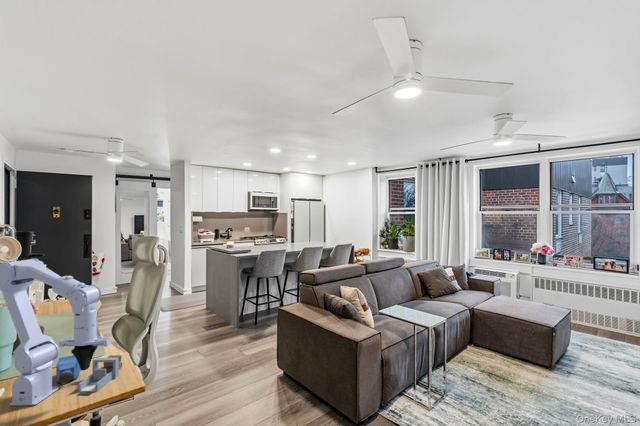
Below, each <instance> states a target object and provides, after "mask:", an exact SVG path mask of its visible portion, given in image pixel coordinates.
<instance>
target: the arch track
mask: <svg viewBox="0 0 640 426" xmlns="http://www.w3.org/2000/svg"><path fill="white" fill-rule="evenodd" d="M104 362H113V370H112V371H111V372H110V373H108V374H107V375H106V376H105V377H103V378H102V379H101V380H99V381H94V382H93V370H94V369H103V366H101V367H99V363H104ZM120 371H121V369H119V358H107V357H95V358H94V359H93V358H92V372H91V374H90V375H89V376H87V377H85V379H83V380H81V381H80V382H79V383H78V389H77V390H78V393H77V396H90V395H92V394H93V393H94V392H95V393H97V392H99V391H100V390H101V389H103V388H104V387H105V386H106V385H107V384H108V383H110V382H111V381H112V380H113V379H114V380H115V379H117V378H118V377H119V376H120V375H119V374H120V373H119V372H120Z"/></svg>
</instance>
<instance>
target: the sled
mask: <svg viewBox="0 0 640 426" xmlns="http://www.w3.org/2000/svg"><path fill="white" fill-rule="evenodd" d="M122 368H123V362H122V361H121V366H120V367H119V370H121V369H122ZM112 370H113V369H99V368H98V369H94V370H93V382H94V381H99V380H101V379H102V378H103V377H105V376H106V375H107V374H108V373H110V372H111V371H112Z"/></svg>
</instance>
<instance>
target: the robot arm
mask: <svg viewBox="0 0 640 426" xmlns="http://www.w3.org/2000/svg"><path fill="white" fill-rule="evenodd" d="M35 281H39V282H41V283H43V284H46V285H48V286H51V287H52V292H54V293H55V294H57V295H59V296H61V297H63V298H65V299H66V300H68V303H69V305H70V307H71V312H72V314H73V337H69V338H62V339H60V340H59V342H58V343H59V344H58V345H57V343H56V342H55V341H54V339H53V337H52V336H50V335H46V334H43V332H42V330H41V327H40V324H39V322H38V318H37V315H36V314H35V311H34V308H33V306H32V302H31V300H30V297H29V294H28V292H27V290H28V287H29V286H31V285H32V284H33V283H34V282H35ZM0 291H1V294H2V296H3V298H4V299H3V300H4V302H5V304H6V306H7V309H8V313H9V315H10V317H11V320H12V323H13V325H14V328H15V330H16V334H17V337H18V339H19V343H20V344H19V345H17V347H16V349H15V350H13V352H12V354H13V356H14V361H13V362H14V368H15V369H16V370H17V371H18V373H20V375H19V376H18V377H17V378H15V380H14V381H13V383H12V386H11V387H12V388H11V391H12V394H11V402H10V403H9V406H36V405H38V404H40V403H41V402H43V400H45V399H46V398H48V397H49V396H51V395H52V394H54V393H55V392H56V391H58V390H59V389H60V387H59V386H53V364H55V360H56V359H57V358H58V357H59V355H60V348H63V347H73V349H71V354H72V355H74V356H75V357H76V359H77V361H78V363H79V366H80V369H81V371H86V370H88V369H90V366H91V362H92V361H93V357H94V354H95V352H96V351H97V349H98V347H100V346H101V347H106V348H107V347H108V346H110V345H111V343H112V342H111V341H112V339H111V337H102V336H97V306H98V305H97V303H98V302H99V301H100V300H101V298H102V291H101V289H100V288H99V287H98V286H97V285H96V284H90V285H88V284H86V283H84V282H80V281H79V280H76V279H75V278H74V276H72V275H64V276H60V275H59V274H58V273H56V272H54V271H53V270H52V269H49V268H48V267H46V266H45V264H44V262H43V261H42V260H39V259H38V258H29V259H23V260H16V261H5V262H4V261H3V262H1V263H0Z"/></svg>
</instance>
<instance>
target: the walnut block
mask: <svg viewBox="0 0 640 426" xmlns="http://www.w3.org/2000/svg"><path fill="white" fill-rule="evenodd" d="M106 358H119V367H120V366H121V362H122V354H121V355H119V354H117V355H114V354H113V355H112V354H111V355H109V356H107V357H106ZM102 367H103V369H113V362H103V365H102Z"/></svg>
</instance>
